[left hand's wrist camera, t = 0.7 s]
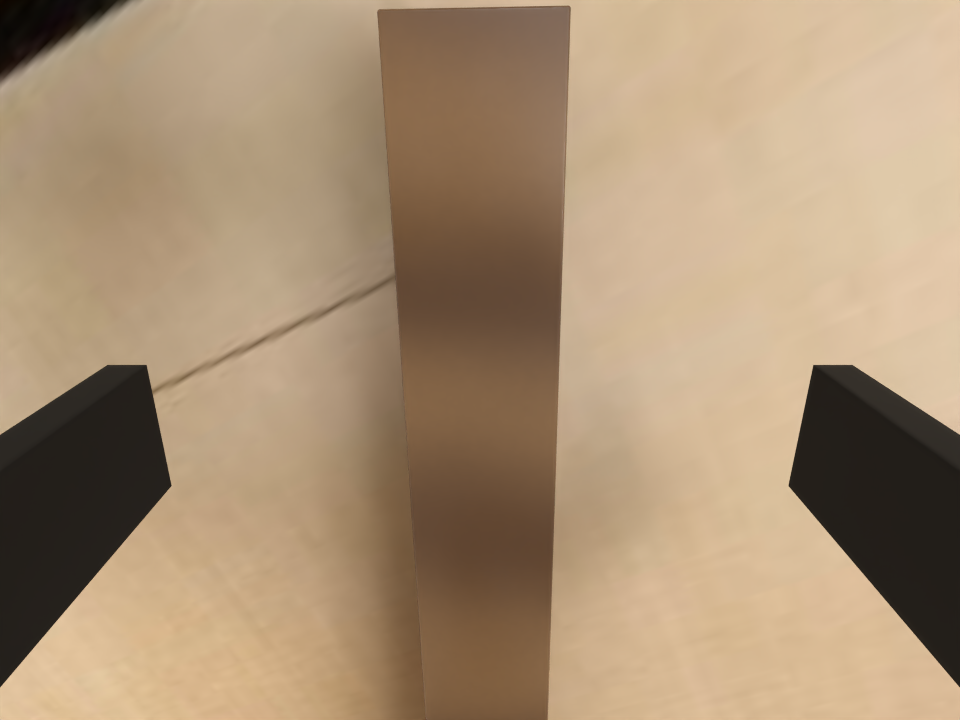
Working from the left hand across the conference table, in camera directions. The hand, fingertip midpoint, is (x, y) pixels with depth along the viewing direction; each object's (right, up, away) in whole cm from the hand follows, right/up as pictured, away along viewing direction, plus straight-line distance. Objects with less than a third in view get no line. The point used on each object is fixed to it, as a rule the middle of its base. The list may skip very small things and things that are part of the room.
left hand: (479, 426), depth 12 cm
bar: (0, -12, +21) cm, 24 cm away
